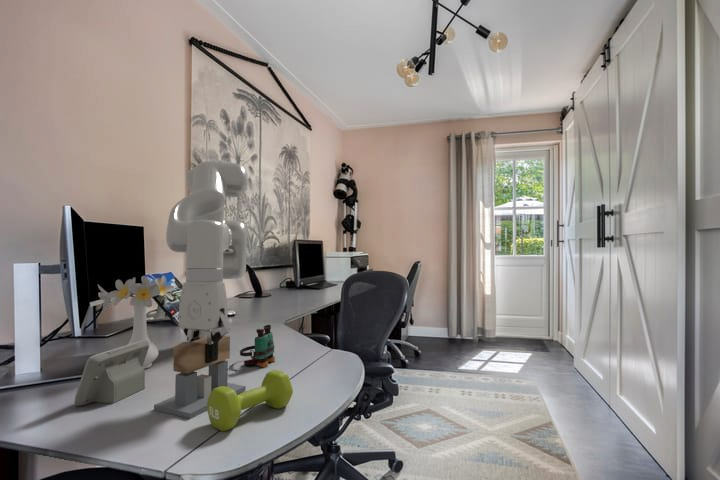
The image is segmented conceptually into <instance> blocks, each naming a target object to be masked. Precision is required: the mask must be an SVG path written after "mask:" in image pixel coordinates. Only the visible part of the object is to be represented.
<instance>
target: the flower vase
mask: <svg viewBox="0 0 720 480" xmlns="http://www.w3.org/2000/svg"><path fill="white" fill-rule="evenodd" d="M140 279H141V280H140V281H141V283H138V282H137V283H136V277H133V278H130V279H126V281H125V283H123V281H122V280H121V279H117V280H115V282H114V283H115V288H116V289H117V290H112V291H110V292H107V290H105V289H104V288H103V287H102V286H100V285H99V284H97V287H98V290H100V292H98V293H97V294H98V298H99V299H100V300H102V301H103V302H102V311H103V312H105V311H106V310H108V305H109V304H110V302H111V300H112V299H114V301H113V303H112V305H113V306H118V304H119V303H120V302H121V301H122V300H124V299H125V300H128V299H129V298H130V297H131V298H130V300H129V305H130V306H133V327H132V328H133V329H132V335H131V338H130V340H129V341H128V343H127V345H129V344H132V343H135V342H139V341H144V340H146V341H148V342H149V349H148V352H147V355H146V358H145V360H144V363H143V366H142V368H143V369H144V370H146V369H148V368H150V367H152V365H153V362H154V361H156V359H157V358H158V356H159V353H160V352H159V350H158V346H156V345H155V344H154V343H153V342H152V341H151V340H150V338H149V337H150V336H149V335H148V329H147V312H148V311H147V309H148V308H151V307H153V300H152V298H153V297H156V296H159V295H160V296H162V297H163V296H165V297H166V298H168V299H169V300H171V301H173V300H174V297H173V295H172V294H171V293H170V292H174V291H175V289H176V288H175V286H174V285H172V284H171V285H170V284H167V278H166V276H165V275H162V276H161V277H156V278H154V279H153V280H151V281H150V279H149V278H148V277H147V276H146V275H142V276H141V278H140Z"/></svg>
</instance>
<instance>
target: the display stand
mask: <svg viewBox="0 0 720 480" xmlns="http://www.w3.org/2000/svg"><path fill="white" fill-rule="evenodd" d="M228 364H229V361H228V359H226V360H223V361H220V362H218V363H215V364H212V365H210V366H208V375H207V374H203V373H202V374H198V371H194V372H191V373H188V374H187V373H181V372H178V373H176V374H175V385H174V387H175V390H174V392H175V393H174V396H172V397H169V398H167V399H165V400H163V401H160V402H157V403H155V404H153V410H154V411H157V412H163V413H166V414H170V415H174V416H178V417H180V418H181V417H182V418H186V419H190V420H192V419H193V418H195V417H196V416H199V415H201V414H202V413H205V412H206V411H207V401H208V398H209V396H210V393H211V391H212V390H213V389H214V388H217V387H220V386H226V387H229V388H231V389H233V390H234V391H235V392H236V394H239V393H240V394H241V392H242V393H243V391H244V392H245V390H246V389H247V388H246V385H241V384H237V383H231V382H228V380H229V379H228V374H229V373H228V370H229V368H228V367H229V365H228ZM246 391H247V390H246ZM207 412H208V411H207Z"/></svg>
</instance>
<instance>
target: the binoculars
mask: <svg viewBox="0 0 720 480" xmlns="http://www.w3.org/2000/svg"><path fill="white" fill-rule="evenodd" d="M271 329H272V325H271V324H266V325H264V326H263V328H257V329H256V334H257V336H256V337H254V345H251V346H245V347H243V348H242V349H240V350H239V355H240V356H241V357H250V358H251V359H246V360H244V361H243V363H244V366H250V365H257V366H258V367H260V368H266V367H268V366H269V363H274V362H275V361H276V359H275V357H276V356H274V353H275V344H274V342H275V341H274V336H273V334H274V333H273V332H272V331H271ZM249 351H250V352H249Z"/></svg>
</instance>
